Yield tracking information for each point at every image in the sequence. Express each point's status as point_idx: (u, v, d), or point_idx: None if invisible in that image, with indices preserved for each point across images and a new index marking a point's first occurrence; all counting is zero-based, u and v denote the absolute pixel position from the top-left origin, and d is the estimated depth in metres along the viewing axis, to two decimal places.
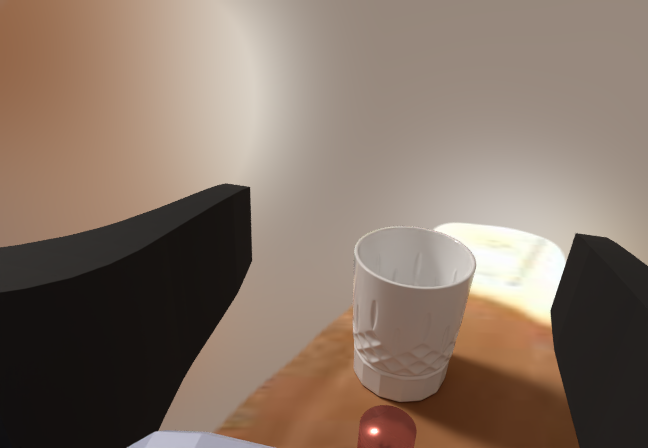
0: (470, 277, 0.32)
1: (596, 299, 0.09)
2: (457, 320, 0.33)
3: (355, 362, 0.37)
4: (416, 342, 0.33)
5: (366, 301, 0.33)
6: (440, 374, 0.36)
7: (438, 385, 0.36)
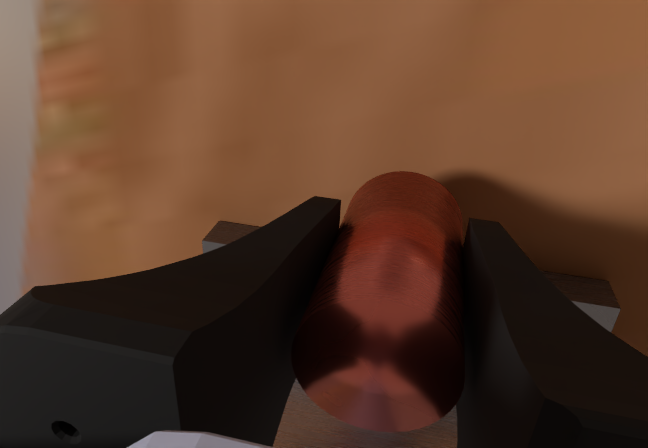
0: None
1: (473, 279, 0.09)
2: None
3: None
4: None
5: None
6: None
7: None
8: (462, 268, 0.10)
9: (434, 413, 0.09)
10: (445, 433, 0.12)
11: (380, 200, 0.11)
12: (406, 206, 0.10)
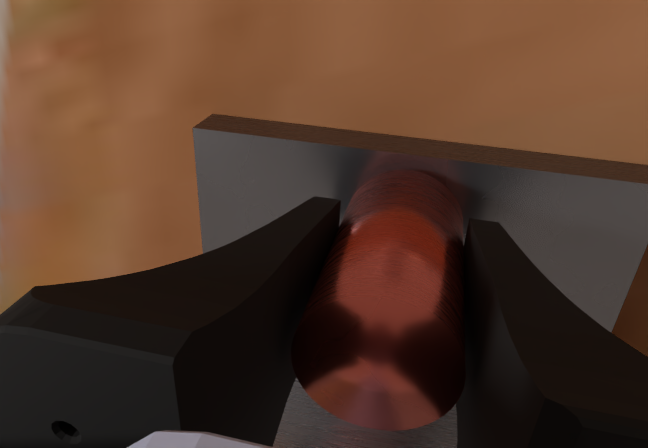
0: None
1: (473, 279, 0.09)
2: None
3: None
4: None
5: None
6: None
7: None
8: (463, 266, 0.10)
9: (435, 411, 0.08)
10: (445, 432, 0.12)
11: (380, 197, 0.11)
12: (406, 204, 0.10)
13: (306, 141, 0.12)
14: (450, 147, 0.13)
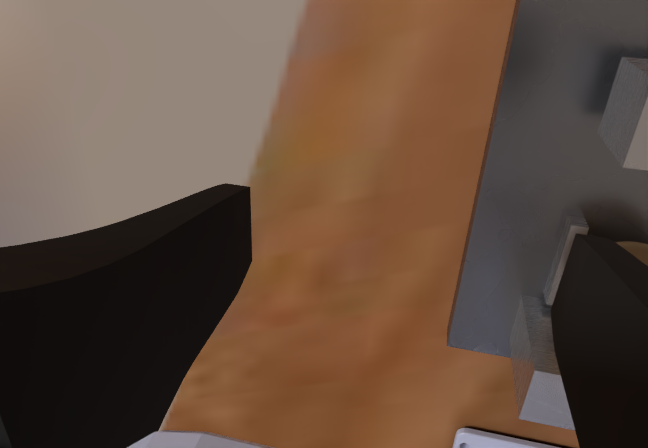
0: None
1: (596, 299, 0.09)
2: None
3: None
4: None
5: None
6: None
7: None
8: None
9: None
10: None
11: None
12: None
13: None
14: None
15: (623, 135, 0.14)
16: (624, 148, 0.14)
